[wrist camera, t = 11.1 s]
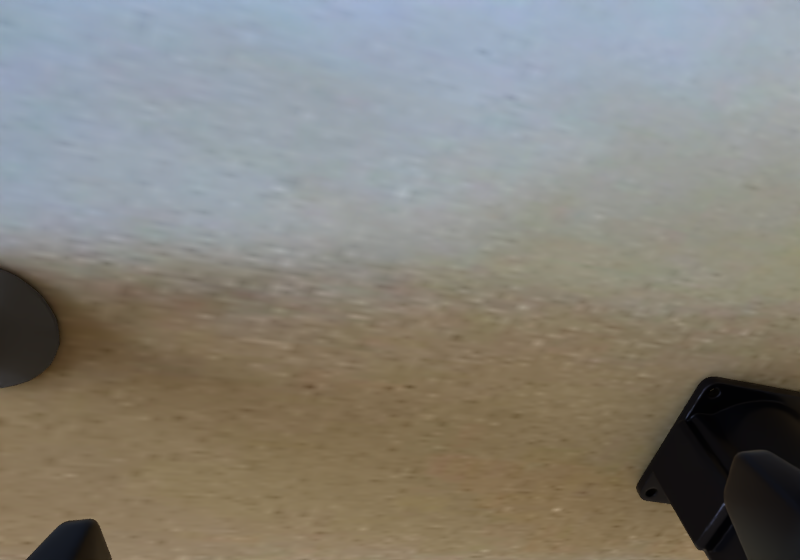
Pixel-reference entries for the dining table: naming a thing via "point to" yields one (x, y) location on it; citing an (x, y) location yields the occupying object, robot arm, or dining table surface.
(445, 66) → the dining table surface
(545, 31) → the dining table surface
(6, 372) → the sundae
